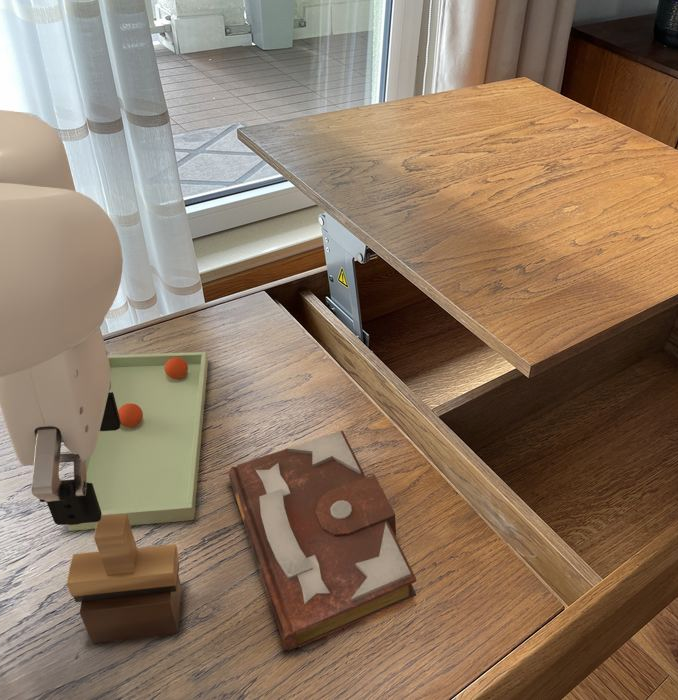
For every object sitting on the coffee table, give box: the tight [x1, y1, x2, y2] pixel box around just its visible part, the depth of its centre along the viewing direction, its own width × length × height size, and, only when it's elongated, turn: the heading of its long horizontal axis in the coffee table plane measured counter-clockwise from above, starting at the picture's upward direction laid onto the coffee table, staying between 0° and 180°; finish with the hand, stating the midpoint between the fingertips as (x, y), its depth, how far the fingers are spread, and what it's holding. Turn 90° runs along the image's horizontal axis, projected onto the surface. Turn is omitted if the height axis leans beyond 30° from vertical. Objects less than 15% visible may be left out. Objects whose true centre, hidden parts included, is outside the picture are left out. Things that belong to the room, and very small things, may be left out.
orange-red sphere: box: [165, 357, 188, 379], centre depth 99 cm, size 3×3×3 cm
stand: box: [79, 574, 183, 644], centre depth 72 cm, size 5×8×6 cm, turn 102°
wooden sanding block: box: [65, 514, 180, 603], centre depth 67 cm, size 3×9×10 cm, turn 102°
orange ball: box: [118, 403, 143, 427], centre depth 91 cm, size 3×3×3 cm
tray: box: [66, 351, 209, 532], centre depth 91 cm, size 27×13×2 cm, turn 12°
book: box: [227, 430, 417, 651], centre depth 82 cm, size 23×16×5 cm
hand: (90, 471), depth 58 cm, fingers open, 9 cm apart
